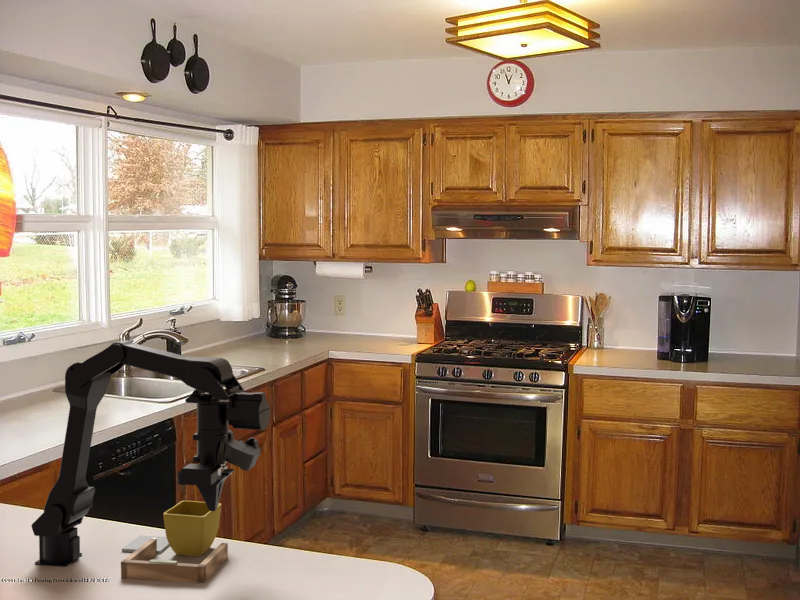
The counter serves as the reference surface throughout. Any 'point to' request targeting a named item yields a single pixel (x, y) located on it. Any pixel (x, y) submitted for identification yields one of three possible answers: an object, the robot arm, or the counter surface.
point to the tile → (140, 540)
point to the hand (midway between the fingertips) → (213, 510)
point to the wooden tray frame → (169, 565)
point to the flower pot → (191, 527)
